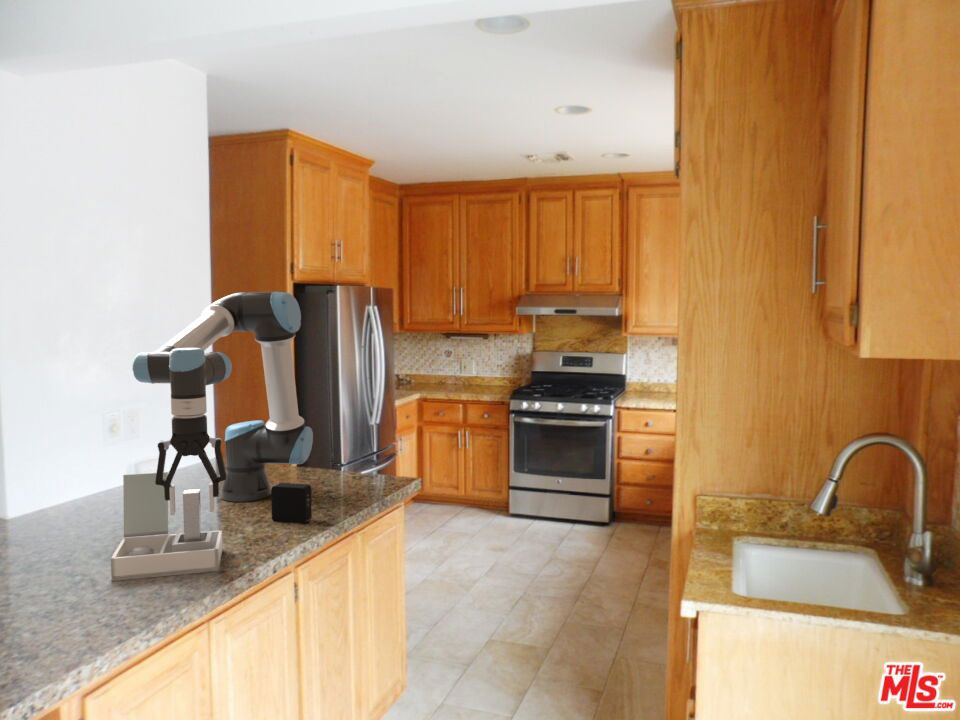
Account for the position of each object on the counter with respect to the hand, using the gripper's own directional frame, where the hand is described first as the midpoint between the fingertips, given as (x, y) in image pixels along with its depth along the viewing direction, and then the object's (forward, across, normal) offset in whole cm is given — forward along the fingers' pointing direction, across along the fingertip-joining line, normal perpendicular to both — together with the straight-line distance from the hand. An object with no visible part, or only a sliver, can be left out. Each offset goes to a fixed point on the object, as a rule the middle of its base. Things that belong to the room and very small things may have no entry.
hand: (192, 511), depth 166 cm
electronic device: (+13, +23, +26) cm, 37 cm away
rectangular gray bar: (+11, 0, 0) cm, 11 cm away
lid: (0, -11, +7) cm, 13 cm away
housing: (+12, -5, 0) cm, 13 cm away
